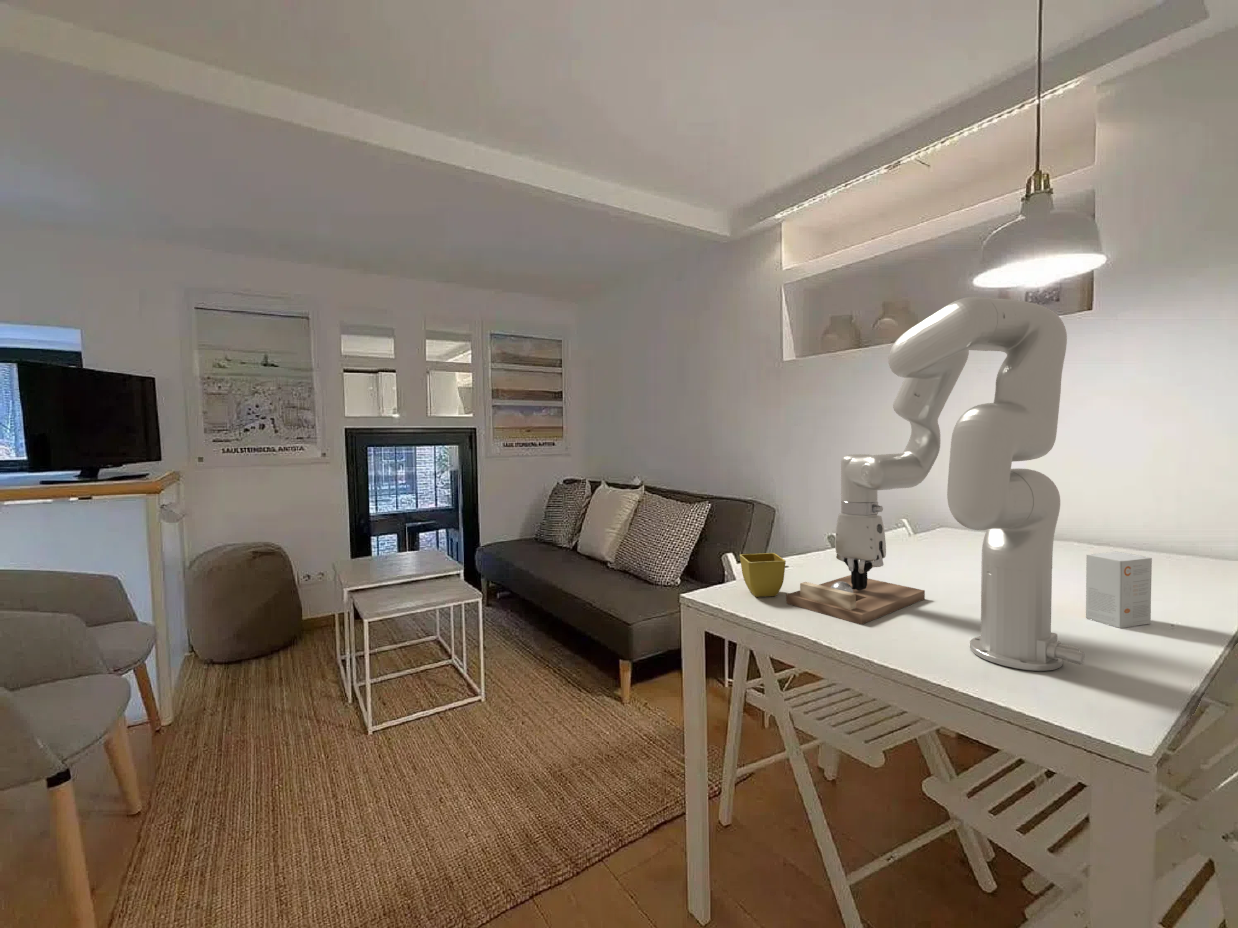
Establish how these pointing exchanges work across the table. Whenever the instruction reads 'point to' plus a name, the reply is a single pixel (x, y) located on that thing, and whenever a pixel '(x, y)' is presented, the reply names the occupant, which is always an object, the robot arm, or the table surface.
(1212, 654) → the table surface
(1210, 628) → the table surface
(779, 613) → the table surface
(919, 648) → the table surface
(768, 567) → the flower pot
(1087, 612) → the small box
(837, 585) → the steel ball
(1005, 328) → the robot arm
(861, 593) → the walnut board
